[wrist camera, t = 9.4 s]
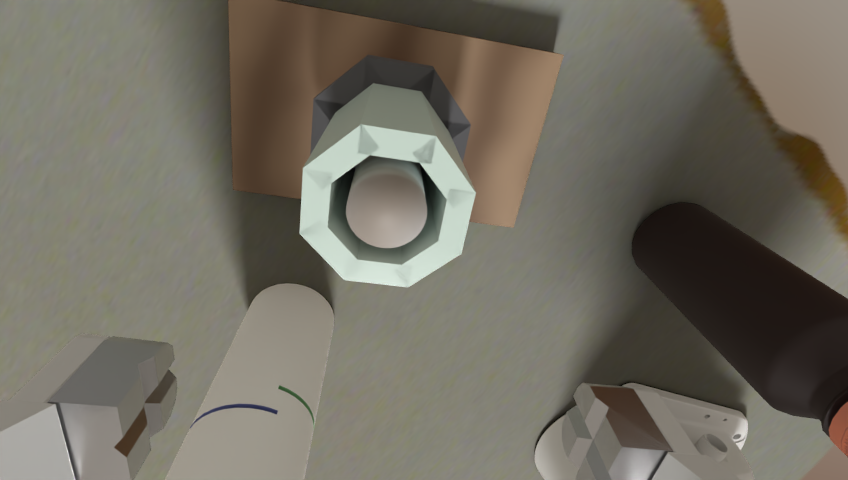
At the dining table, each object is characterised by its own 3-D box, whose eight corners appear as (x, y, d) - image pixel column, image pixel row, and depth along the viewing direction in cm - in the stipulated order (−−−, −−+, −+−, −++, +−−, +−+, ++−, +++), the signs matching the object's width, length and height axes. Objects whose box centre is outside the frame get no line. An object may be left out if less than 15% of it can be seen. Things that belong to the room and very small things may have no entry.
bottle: (622, 276, 38) (824, 510, 20) (638, 202, 35) (892, 403, 17) (700, 271, 38) (966, 499, 20) (722, 198, 35) (1059, 391, 17)
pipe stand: (553, 52, 29) (703, 91, 15) (507, 216, 35) (585, 359, 20) (239, -8, 27) (61, -29, 12) (241, 179, 32) (119, 314, 18)
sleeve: (454, 97, 24) (487, 144, 15) (434, 203, 27) (452, 292, 18) (338, 76, 23) (305, 115, 15) (329, 188, 26) (297, 275, 17)
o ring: (476, 73, 25) (481, 77, 23) (447, 213, 29) (449, 223, 27) (320, 45, 24) (316, 47, 22) (311, 195, 27) (307, 204, 26)
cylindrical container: (259, 272, 36) (35, 705, 13) (345, 297, 37) (271, 721, 15) (241, 338, 38) (32, 783, 16) (321, 359, 40) (230, 790, 18)
